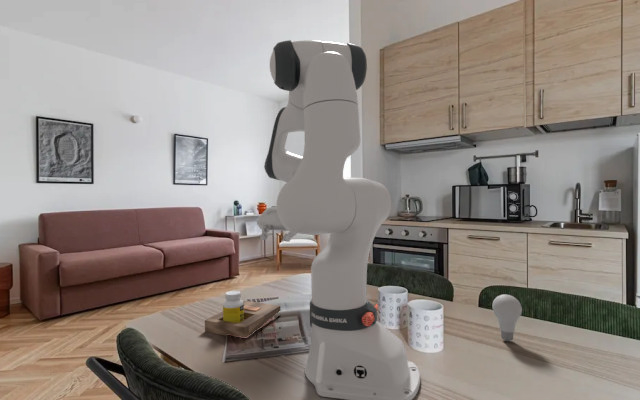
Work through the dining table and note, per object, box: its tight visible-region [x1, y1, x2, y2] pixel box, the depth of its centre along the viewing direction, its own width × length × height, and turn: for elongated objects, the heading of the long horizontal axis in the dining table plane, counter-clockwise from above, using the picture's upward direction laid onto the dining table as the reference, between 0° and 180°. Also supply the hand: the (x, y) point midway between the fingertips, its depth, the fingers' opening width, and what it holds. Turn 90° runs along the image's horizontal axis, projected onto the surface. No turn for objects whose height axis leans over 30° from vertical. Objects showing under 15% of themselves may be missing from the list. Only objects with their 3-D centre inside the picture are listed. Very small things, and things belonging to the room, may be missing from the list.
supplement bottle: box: [222, 290, 244, 323], centre depth 90 cm, size 5×5×10 cm
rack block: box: [204, 300, 282, 337], centre depth 93 cm, size 13×17×3 cm
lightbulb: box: [491, 294, 523, 342], centre depth 79 cm, size 6×6×11 cm
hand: (273, 239), depth 103 cm, fingers open, 8 cm apart
